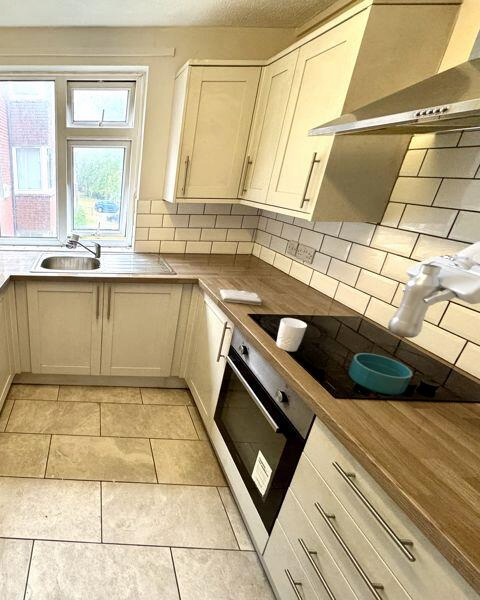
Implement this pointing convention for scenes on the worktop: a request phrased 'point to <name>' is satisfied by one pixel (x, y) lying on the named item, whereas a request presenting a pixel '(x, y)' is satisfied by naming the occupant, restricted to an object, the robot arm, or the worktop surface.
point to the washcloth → (240, 297)
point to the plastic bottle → (415, 302)
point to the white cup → (290, 334)
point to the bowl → (379, 373)
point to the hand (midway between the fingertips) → (415, 297)
